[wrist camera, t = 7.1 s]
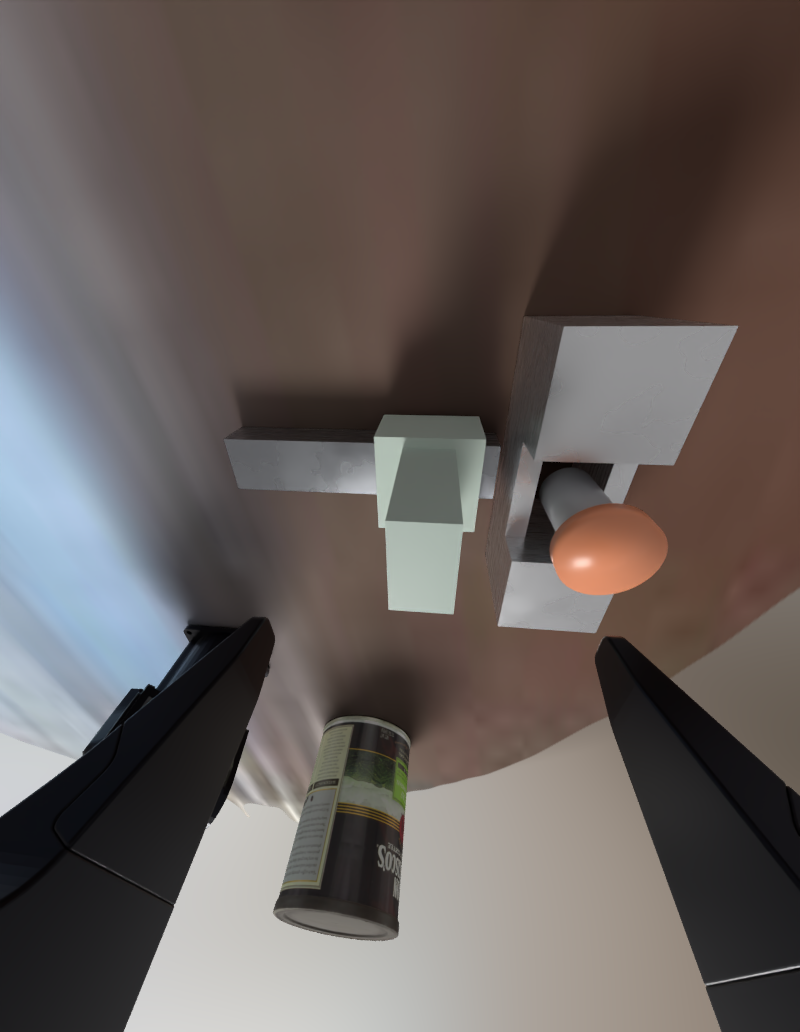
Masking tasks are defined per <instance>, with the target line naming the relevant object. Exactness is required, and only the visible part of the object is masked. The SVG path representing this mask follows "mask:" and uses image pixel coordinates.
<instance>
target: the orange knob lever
mask: <svg viewBox="0 0 800 1032" xmlns="http://www.w3.org/2000/svg"><path fill="white" fill-rule="evenodd" d="M539 498H540V501H541V503H542V505H543V507H544V509H545V511H546V513H547V515H548V517H549V519H550V521H551V523H552V525H553V527H554V529H555V534H554V535H553V537H552V540H551V542H550V548H549V553H550V558H551V561H552V563H553V566H554V568H555V570H556V573H557V575H558V577H559V579H560V580H561V581H562V582H563V583H564V584H565V585H566V586H567V587H569V588H570V589H572V590H574V591H577V592H580V593H583V594H588V595H609V594H615V593H619V592H623V591H626V590H629V589H631V588H634V587H636V586H638V585H640V584H641V583H643V582H644V581H646V580H647V579H649V578H650V577H651V576H652V575H653V574H654V573H656V572H657V570H658V569H659V568H660V567H661V565H662V564H663V562H664V560H665V558H666V555H667V551H668V543H667V539H666V536H665V534H664V532H663V531H662V530H661V529H660V528H659V527H658V525H657V524H656V523H655V522H654V521H653V520H652V519H651V518H650V517H649V516H648V515H647V514H646V513H645V512H643V511H642V510H640V509H638V508H637V507H634V506H631V505H627V504H620V503H612V501H611V500H610V499H609V498H608V497H607V495H606V494H605V493H604V492H603V491H602V489H601V488H600V487H599V486H598V485H597V483H596V482H595V481H594V480H593V479H592V477H591V476H590V475H589V474H588V473H587V472H586V471H584V470H582V469H579V468H573V467H570V468H563V469H560V470H557V471H555V472H553V473H552V474H550V475H549V476H548V477H547V478H546V479H545V480H544V481H543V483H542V485H541V487H540V490H539Z"/></svg>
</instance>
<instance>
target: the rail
mask: <svg viewBox="0 0 800 1032" xmlns="http://www.w3.org/2000/svg"><path fill="white" fill-rule="evenodd" d="M376 431H377V430H349V429H306V428H264V427H241V428H240V429H238V430H237V431H235V432H234V433H232V434H231V435H229V436H228V437H226V438H225V439H224V442H225V445H226V449H227V452H228V455H229V459H230V462H231V465H232V468H233V472H234V475H235V478H236V482H237V485H238V488H239V489H257V490H283V491H308V492H333V493H358V494H377V486H376V467H375V448H374V435H375V433H376ZM484 434H485V437H486V446H485V454H484V461H483V469H482V476H481V484H480V491H479V498H483V499H493V493H494V487H495V481H496V475H497V468H498V462H499V456H500V450H501V445H500V443H499V440H498V438H497V435H496V433H484Z"/></svg>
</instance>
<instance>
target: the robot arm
mask: <svg viewBox="0 0 800 1032" xmlns="http://www.w3.org/2000/svg"><path fill="white" fill-rule="evenodd" d="M184 633H185V635H186V637H187V639H188V641H189V644H188V645H187V647H186V648H185V649H184V651H183V652H182V654H181V655H180V656H179V658H178V659H177V661H176V662H175V663H174V665H173V666H172V667H171V669H170V670H169V672H168V673H167V674H166V676H165V677H164V679H163V680H162V681H161V683H160V684H159V686H158V687H157V688H156V689H155V687H154V686H152V685H150V684H148V685H147V686H146V687H145V689H144V690H143V689H131V690H130V691H129V692H128V694H127V695H126V696H125V698H124V699H123V700H122V701H121V703H120V704H119V705H118V706H117V708H116V709H115V710H114V712H113V713H112V714H111V715H110V717H109V718H108V719H107V721H106V722H105V723H104V725H103V726H102V727H101V729H100V730H99V731H98V732H97V734H96V735H95V736H94V738H93V739H92V740H91V742H90V743H89V744H88V746H87V747H86V748H85V749H84V751H83V756H82V757H81V758H79V759H78V760H77V761H75V762H74V763H73V764H71V765H70V766H69V767H68V768H66V769H65V770H64V771H62V772H61V773H60V774H58V775H57V776H56V777H54V778H53V779H52V780H50V781H49V782H48V783H46V784H45V785H44V786H42V787H41V788H40V789H38V790H37V791H35V792H34V793H33V794H31V795H30V796H28V797H27V798H26V799H24V800H23V801H22V802H20V803H19V804H18V805H16V806H15V807H13V808H12V809H11V810H9V811H8V812H7V813H5V814H4V815H3V816H1V817H0V1032H124V1029H125V1027H126V1024H127V1022H128V1019H129V1017H130V1015H131V1012H132V1010H133V1007H134V1005H135V1002H136V1000H137V997H138V995H139V992H140V990H141V987H142V985H143V982H144V980H145V977H146V975H147V972H148V970H149V968H150V965H151V962H152V960H153V957H154V955H155V953H156V950H157V948H158V945H159V943H160V940H161V938H162V936H163V933H164V930H165V928H166V926H167V923H168V921H169V918H170V916H171V913H172V911H173V908H174V904H175V903H176V900H177V898H178V895H179V893H180V890H181V888H182V885H183V883H184V881H185V878H186V876H187V873H188V871H189V868H190V866H191V863H192V861H193V858H194V856H195V854H196V851H197V849H198V846H199V844H200V841H201V839H202V836H203V834H204V831H205V829H206V828H208V827H209V825H210V824H211V823H212V822H213V820H214V819H215V818H216V816H217V814H218V813H219V811H220V809H221V808H222V806H223V804H224V802H225V800H226V798H227V796H228V794H229V791H230V789H231V786H232V783H233V781H234V777H235V774H236V771H237V768H238V764H239V761H240V758H241V755H242V752H243V748H244V745H245V742H246V739H247V736H248V732H249V730H247V729H246V728H247V725H248V723H249V720H250V718H251V715H252V713H253V710H254V708H255V705H256V703H257V700H258V697H259V694H260V691H261V688H262V685H263V681H264V678H265V677H267V676H268V674H269V669H268V664H269V661H270V657H271V654H272V650H273V647H274V643H275V635H274V632H273V630H272V627H271V624H270V622H269V620H268V619H267V618H266V617H252V618H251V619H249V620H248V621H247V622H246V623H244V624H243V625H242V626H241V627H239V628H238V629H229V628H216V627H203V626H187V627H186V628H185V630H184ZM595 664H596V668H597V672H598V676H599V680H600V684H601V688H602V692H603V696H604V700H605V704H606V708H607V712H608V716H609V720H610V723H611V727H612V730H613V733H614V736H615V739H616V741H617V744H618V747H619V750H620V752H621V755H622V758H623V761H624V763H625V766H626V769H627V772H628V774H629V777H630V780H631V783H632V785H633V788H634V791H635V794H636V796H637V799H638V802H639V805H640V807H641V810H642V813H643V816H644V819H645V821H646V824H647V827H648V830H649V832H650V835H651V838H652V840H653V843H654V846H655V849H656V851H657V854H658V857H659V860H660V863H661V865H662V868H663V871H664V874H665V876H666V879H667V882H668V885H669V887H670V890H671V893H672V896H673V899H674V901H675V904H676V907H677V910H678V912H679V915H680V918H681V921H682V923H683V926H684V929H685V932H686V934H687V937H688V940H689V943H690V945H691V948H692V951H693V954H694V956H695V959H696V962H697V965H698V968H699V970H700V973H701V976H702V979H703V981H704V983H705V985H706V990H707V993H708V996H709V998H710V1001H711V1004H712V1007H713V1010H714V1012H715V1015H716V1018H717V1020H718V1023H719V1026H720V1029H721V1032H800V796H799V795H798V794H797V793H796V792H795V791H794V790H793V789H792V788H790V787H789V786H786V784H785V783H784V781H783V780H781V779H780V778H779V777H778V776H777V775H776V774H775V773H774V772H773V771H772V770H770V769H769V768H768V767H767V766H766V765H765V764H764V763H763V762H762V761H760V760H759V759H758V758H757V757H756V756H755V755H754V754H752V752H750V751H749V750H748V749H747V748H746V747H745V746H744V745H743V744H742V743H740V742H739V741H738V740H737V739H736V738H735V737H734V736H732V734H730V733H729V732H728V731H727V730H726V729H725V728H724V727H723V726H722V725H720V724H719V723H718V722H717V721H716V720H715V719H714V718H712V717H711V716H710V715H709V714H708V713H707V712H706V711H705V710H704V709H702V707H700V706H699V705H698V704H697V703H696V702H695V701H694V700H693V699H691V698H690V697H689V696H688V695H687V694H686V693H685V692H684V691H683V690H682V689H680V688H679V687H678V686H677V685H676V684H675V683H674V682H673V681H672V680H671V679H669V678H668V677H667V676H666V675H665V674H664V673H663V672H662V671H661V670H659V669H658V668H657V667H656V666H655V665H654V664H653V663H652V662H651V661H649V660H648V659H647V658H646V657H645V656H644V655H643V654H642V653H641V652H639V651H638V650H637V649H636V648H635V647H634V646H633V645H632V644H631V643H629V642H628V641H627V640H626V639H625V638H623V637H621V636H604V637H603V639H602V641H601V643H600V645H599V648H598V650H597V652H596V655H595Z"/></svg>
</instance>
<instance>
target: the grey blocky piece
mask: <svg viewBox="0 0 800 1032" xmlns="http://www.w3.org/2000/svg"><path fill="white" fill-rule="evenodd" d="M737 328H738V326H734V325H725V324H715V323H706V322H696V321H687V320H677V319H668V318H658V317H649V316H524V319H523V325H522V331H521V337H520V343H519V349H518V355H517V362H516V368H515V374H514V380H513V386H512V392H511V398H510V405H509V411H508V417H507V423H506V429H505V435H504V441H503V448H502V454H501V460H500V466H499V472H498V478H497V484H496V490H495V497H494V503H493V509H492V515H491V521H490V527H489V533H488V540H487V546H486V552H485V557H486V563H487V568H488V574H489V580H490V585H491V591H492V597H493V603H494V608H495V614H496V620H497V625H498V626H504V627H518V628H532V629H546V630H560V631H574V632H588V633H596V631H597V629H598V627H599V625H600V622H601V620H602V618H603V616H604V614H605V612H606V610H607V607H608V605H609V603H610V601H611V599H612V597H613V594H609V595H588V594H583V593H580V592H577V591H574V590H572V589H570V588H569V587H567V586H566V585H565V584H564V583H563V582H562V581H561V580H560V579H559V577H558V575H557V573H556V570H555V568H554V566H553V563H552V561H551V558H550V553H549V548H550V542H551V540H552V537H553V535H554V534H555V529H554V527H553V525H552V523H551V521H550V519H549V517H548V515H547V513H546V511H545V509H544V507H543V505H542V503H541V501H540V499H534V497H535V493H536V489H537V484H538V480H539V476H540V472H541V467H542V463H543V461H548V462H573V465H572V467H573V468H579V469H582V470H584V471H586V472H587V473H588V474H589V475H590V476H591V477H592V479H593V480H594V481H595V482H596V483H597V485H598V486H599V487H600V488H601V489H602V491H603V492H604V493H605V494H606V495H607V497H608V498H609V499H610V500H611V501H612V503H620V504H623V501H624V499H625V496H626V494H627V492H628V489H629V487H630V484H631V482H632V479H633V477H634V474H635V472H636V469H637V467H638V464H647V465H674V463H675V461H676V459H677V457H678V455H679V453H680V450H681V448H682V446H683V444H684V442H685V440H686V438H687V435H688V433H689V431H690V429H691V427H692V425H693V423H694V420H695V418H696V416H697V414H698V412H699V410H700V407H701V405H702V403H703V401H704V399H705V397H706V395H707V392H708V390H709V388H710V386H711V384H712V382H713V380H714V377H715V375H716V373H717V371H718V369H719V367H720V365H721V362H722V360H723V358H724V356H725V354H726V352H727V349H728V347H729V345H730V343H731V341H732V339H733V337H734V334H735V332H736V330H737Z"/></svg>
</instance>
